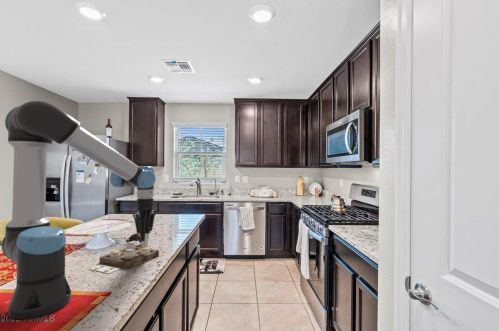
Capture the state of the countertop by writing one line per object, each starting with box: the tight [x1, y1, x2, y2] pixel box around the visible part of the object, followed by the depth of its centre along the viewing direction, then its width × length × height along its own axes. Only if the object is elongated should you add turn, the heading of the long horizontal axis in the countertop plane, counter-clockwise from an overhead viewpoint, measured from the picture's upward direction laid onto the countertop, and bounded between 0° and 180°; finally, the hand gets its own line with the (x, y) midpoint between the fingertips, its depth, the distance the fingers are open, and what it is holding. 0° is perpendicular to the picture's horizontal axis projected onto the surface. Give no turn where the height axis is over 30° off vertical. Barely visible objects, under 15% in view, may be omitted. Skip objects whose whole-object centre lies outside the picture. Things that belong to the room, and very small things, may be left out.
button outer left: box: [125, 241, 137, 250], centre depth 125 cm, size 4×4×4 cm
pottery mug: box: [125, 232, 141, 244], centre depth 140 cm, size 12×10×8 cm
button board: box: [99, 246, 160, 269], centre depth 119 cm, size 18×18×2 cm
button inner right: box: [124, 249, 135, 260], centre depth 114 cm, size 4×4×4 cm
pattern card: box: [88, 264, 120, 275], centre depth 107 cm, size 5×12×1 cm, turn 67°
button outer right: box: [140, 247, 151, 255], centre depth 122 cm, size 4×4×4 cm
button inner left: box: [109, 250, 121, 258], centre depth 117 cm, size 4×4×4 cm
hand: (144, 247), depth 122 cm, fingers closed
